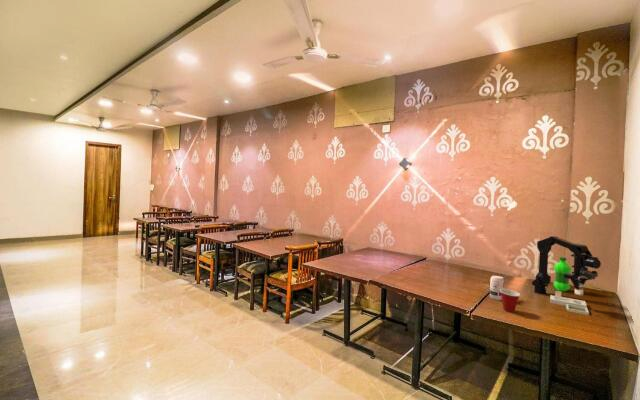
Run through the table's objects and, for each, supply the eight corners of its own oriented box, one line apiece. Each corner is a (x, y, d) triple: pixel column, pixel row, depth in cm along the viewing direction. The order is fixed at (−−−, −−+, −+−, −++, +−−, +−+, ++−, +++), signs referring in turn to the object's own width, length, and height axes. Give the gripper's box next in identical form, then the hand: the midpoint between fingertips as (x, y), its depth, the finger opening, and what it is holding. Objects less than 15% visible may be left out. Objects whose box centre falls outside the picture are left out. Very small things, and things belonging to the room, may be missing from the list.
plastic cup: (518, 315, 181) (519, 296, 181) (497, 310, 188) (498, 291, 188) (520, 310, 190) (521, 291, 189) (501, 306, 197) (501, 287, 196)
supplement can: (501, 297, 213) (502, 276, 212) (504, 301, 205) (505, 279, 205) (488, 295, 216) (489, 274, 215) (491, 299, 208) (491, 278, 207)
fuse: (555, 302, 202) (555, 291, 202) (554, 300, 205) (555, 290, 204) (560, 303, 200) (561, 292, 200) (560, 301, 203) (561, 291, 203)
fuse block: (550, 304, 201) (550, 299, 201) (550, 300, 209) (550, 294, 209) (586, 311, 190) (586, 305, 190) (584, 306, 198) (584, 300, 198)
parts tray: (567, 312, 188) (567, 308, 188) (566, 307, 196) (566, 303, 196) (588, 316, 182) (588, 312, 182) (586, 311, 190) (586, 307, 190)
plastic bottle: (568, 289, 232) (570, 257, 231) (571, 293, 223) (572, 259, 222) (552, 287, 237) (553, 255, 237) (553, 290, 229) (555, 258, 228)
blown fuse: (574, 294, 194) (574, 283, 194) (577, 293, 195) (578, 282, 195) (579, 295, 191) (580, 284, 191) (583, 295, 192) (583, 284, 192)
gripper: (582, 268, 182) (582, 294, 183) (605, 267, 187) (604, 292, 188) (563, 264, 193) (562, 288, 193) (585, 263, 198) (584, 286, 198)
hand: (578, 289), depth 193 cm, fingers closed on blown fuse, 3 cm apart
